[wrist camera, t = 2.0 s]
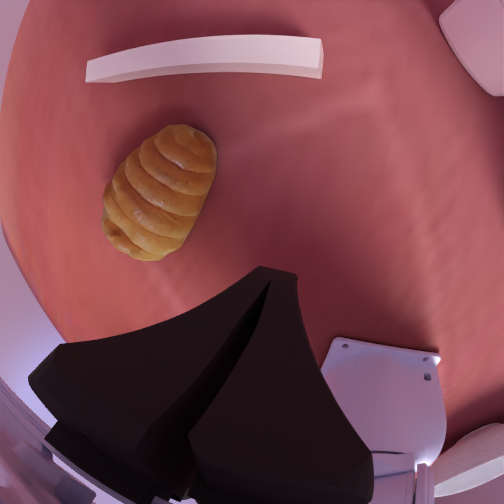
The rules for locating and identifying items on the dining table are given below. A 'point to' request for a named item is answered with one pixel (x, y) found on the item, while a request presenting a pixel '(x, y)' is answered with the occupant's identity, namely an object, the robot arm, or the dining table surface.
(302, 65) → the white rectangular bar
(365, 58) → the dining table surface
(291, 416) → the robot arm
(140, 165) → the pastry
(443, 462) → the cereal bowl
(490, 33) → the eye dropper bottle
